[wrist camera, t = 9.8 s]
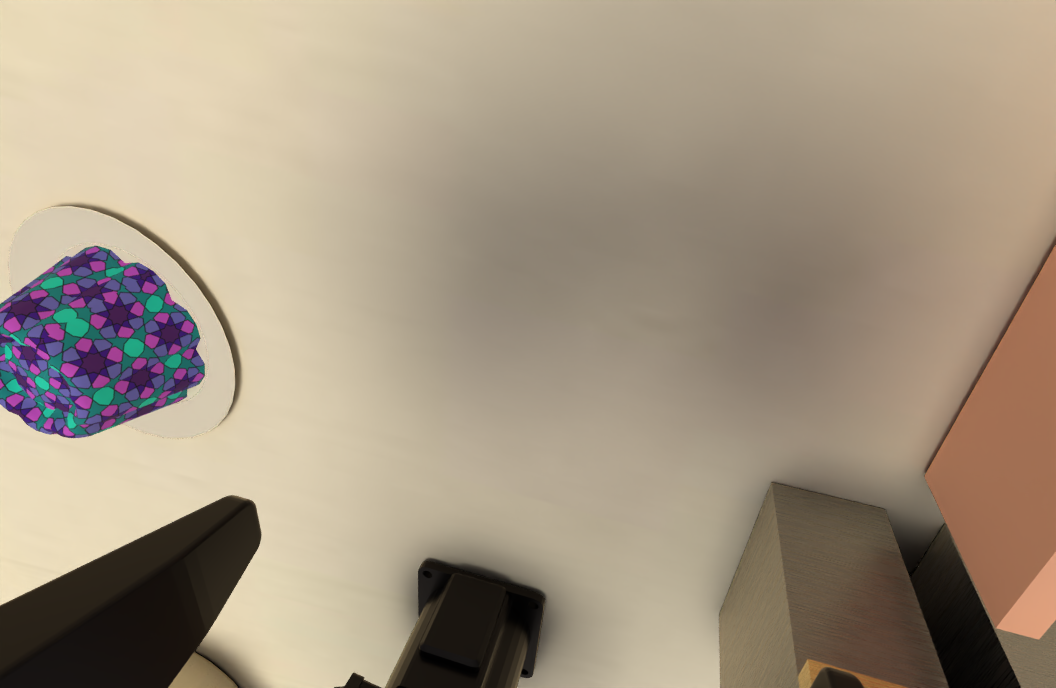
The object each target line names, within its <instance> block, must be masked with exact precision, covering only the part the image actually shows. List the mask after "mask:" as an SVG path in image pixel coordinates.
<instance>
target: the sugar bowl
mask: <svg viewBox="0 0 1056 688" xmlns="http://www.w3.org/2000/svg"><path fill="white" fill-rule="evenodd" d="M168 688H238V687H237V685H236V684H235V683H234V682H233V681H232V680H231V679H230V678H229V677H228V676H227V675H226V674H225V673H223V672H222V671H221V670H220V669H219V668H217V667H216V666H215V665H214V664H212V663H211V662H210V661H208V660H207V659H205V658H203V657H202V656H200V655H198V654H196V653H195V652H194V653H193V654H192V656H191V657H190V658H189V660H188V661H187V663H186V664H185V665H184V667H183V668H182V669H181V671H180V672H179V674H178V675H177V676H176V678H175V679H174V680H173V682H172V683H171V685H170V686H169V687H168Z"/></svg>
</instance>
